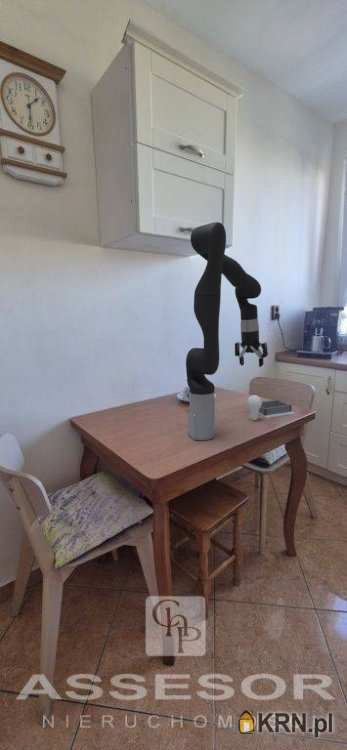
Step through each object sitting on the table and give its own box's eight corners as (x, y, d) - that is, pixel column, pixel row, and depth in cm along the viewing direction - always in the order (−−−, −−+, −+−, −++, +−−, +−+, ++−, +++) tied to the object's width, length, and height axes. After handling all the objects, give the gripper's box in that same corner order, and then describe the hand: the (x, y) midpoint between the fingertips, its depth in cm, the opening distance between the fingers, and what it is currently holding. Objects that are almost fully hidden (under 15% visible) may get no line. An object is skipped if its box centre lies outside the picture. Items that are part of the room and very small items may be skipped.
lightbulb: (244, 420, 135) (244, 395, 133) (251, 417, 139) (252, 392, 137) (256, 424, 131) (257, 398, 129) (264, 420, 135) (265, 395, 133)
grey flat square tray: (267, 418, 137) (267, 410, 136) (248, 408, 151) (248, 401, 150) (296, 413, 142) (296, 406, 141) (275, 404, 155) (275, 398, 155)
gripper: (230, 331, 137) (233, 367, 142) (262, 331, 129) (264, 369, 134) (238, 328, 143) (240, 362, 148) (269, 327, 135) (270, 364, 139)
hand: (251, 365), depth 141 cm, fingers open, 8 cm apart
